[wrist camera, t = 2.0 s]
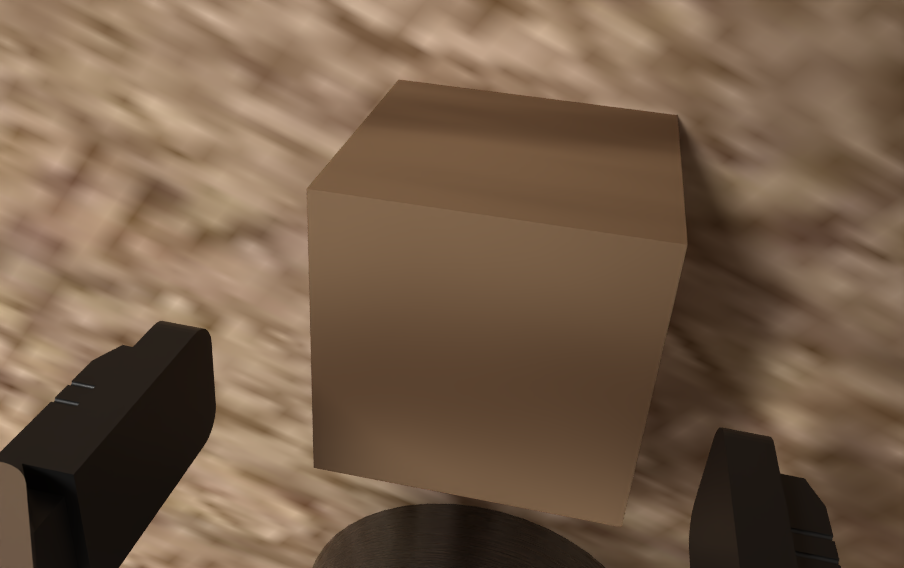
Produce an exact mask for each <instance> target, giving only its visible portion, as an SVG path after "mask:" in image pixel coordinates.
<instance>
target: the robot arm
mask: <svg viewBox="0 0 904 568" xmlns="http://www.w3.org/2000/svg"><path fill="white" fill-rule="evenodd" d="M215 412H216V401H215V386H214V371H213V356H212V342H211V337H210V334H209V332H208V331H207V330H206V329H203V328H197V327H192V326H187V325H181V324H176V323H171V322H165V321H159V322H157V323H156V324H155V325H154V326H153V327H152V328H151V329H150V330H149V331H148V332H147V333H146V334H145V335H144V336H143V337H142V338H141V339H140V340H139V341H138V342H137V343H136V344H135V345H134V346H133V347H130V346H125V345H122V346H120V347H118V348H116V349H114V350H112V351H110V352H108V353H106V354H104V355H102V356H100V357H98V358H96V359H95V360H93V361H91V362H90V363H89V364H88V365H87V366H86V367H85V368H84V369H83V370H82V371H81V372H80V373H79V374H78V375H77V376H76V377H75V378H74V379H73V380H72V384H71V386H70V385H67V386H66V387H65V388H64V389H63V390H62V391H61V392H60V393H59V394H58V395H57V396H56V397H55V401H54V402H50V403H49V404H48V405H47V406H46V407H45V408H44V409H43V410H42V411H41V412H40V413H39V414H38V415H37V416H36V417H35V418H34V419H33V420H32V421H31V422H30V423H29V424H28V425H27V426H26V427H25V428H24V429H23V430H22V431H21V432H20V433H19V434H18V435H17V436H16V437H15V438H14V439H13V440H12V441H11V442H10V443H9V444H8V445H7V446H6V447H5V448H4V449H3V450H2V451H1V452H0V568H119V567H120V565H121V564H122V562H123V561H124V560H125V558H126V557H127V555H128V554H129V552H130V551H131V550H132V548H133V547H134V545H135V544H136V542H137V541H138V540H139V538H140V537H141V535H142V534H143V532H144V531H145V529H146V528H147V527H148V525H149V524H150V522H151V521H152V519H153V518H154V517H155V515H156V514H157V512H158V511H159V509H160V508H161V507H162V505H163V504H164V502H165V501H166V499H167V498H168V497H169V495H170V494H171V492H172V491H173V489H174V488H175V487H176V485H177V484H178V482H179V481H180V479H181V478H182V476H183V475H184V474H185V472H186V471H187V469H188V468H189V466H190V465H191V464H192V462H193V461H194V459H195V458H196V456H197V455H198V454H199V452H200V451H201V449H202V448H203V446H204V445H205V443H206V442H207V440H208V438H209V435H210V433H211V430H212V427H213V423H214V419H215ZM832 538H833V533H832V529H831V525H830V521H829V517H828V513H827V510H826V506H825V505H824V504H823V502H822V501H821V500H820V498H819V497H818V496H817V494H816V493H815V492H814V490H813V489H812V488H811V486H810V485H809V484H808V482H807V481H806V480H805V479H804V478H799V477H794V476H789V475H784V474H780V471H779V466H778V461H777V456H776V451H775V445H774V441H773V439H772V438H771V437H769V436H764V435H758V434H753V433H748V432H742V431H737V430H732V429H726V428H721V427H720V428H719V429H718V430H717V432H716V434H715V437H714V440H713V443H712V446H711V450H710V453H709V456H708V460H707V463H706V466H705V469H704V473H703V476H702V479H701V483H700V486H699V489H698V492H697V496H696V499H695V502H694V506H693V511H692V516H691V523H690V532H689V555H690V568H841V566H840V565H838V562H839V557H838V553H837V549H836V545H835V541H832Z"/></svg>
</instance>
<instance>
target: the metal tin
mask: <svg viewBox="0 0 904 568" xmlns="http://www.w3.org/2000/svg"><path fill="white" fill-rule="evenodd" d="M313 568H605V567H604V566H603V565H602V564H600V563H599V562H598V561H597V560H596V559H594V558H593V557H592V556H591V555H590V554H589V553H587V552H586V551H584V550H583V549H581V548H580V547H578V546H577V545H575V544H574V543H572V542H571V541H569V540H568V539H566V538H564V537H562V536H560V535H558V534H556V533H554V532H553V531H551V530H549V529H547V528H544V527H542V526H540V525H537V524H535V523H532V522H530V521H528V520H525V519H522V518H519V517H516V516H513V515H509V514H506V513H503V512H499V511H494V510H490V509H485V508H480V507H475V506H466V505H457V504H419V505H409V506H402V507H397V508H393V509H388V510H384V511H381V512H378V513H375V514H372V515H369V516H366V517H364V518H362V519H360V520H358V521H356V522H354V523H353V524H351V525H349V526H347V527H346V528H345V529H343V530H342V531H341V532H339V533H338V534H336V535H335V536H334V537H333V538H332V539H331V540H330V541H329V542H328V543H327V545H326V546H325V547H324V548H323V550H322V551H321V553H320V554H319V556H318V557H317V559H316V561H315V563H314V565H313Z"/></svg>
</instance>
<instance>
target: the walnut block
mask: <svg viewBox="0 0 904 568" xmlns="http://www.w3.org/2000/svg"><path fill="white" fill-rule="evenodd" d="M307 217H308V256H309V296H310V335H311V375H312V414H313V453H314V468H318V469H323V470H328V471H333V472H339V473H344V474H349V475H354V476H359V477H365V478H370V479H375V480H380V481H385V482H390V483H396V484H401V485H406V486H411V487H416V488H421V489H427V490H432V491H437V492H442V493H447V494H453V495H458V496H463V497H468V498H473V499H478V500H484V501H489V502H494V503H499V504H504V505H509V506H515V507H520V508H525V509H530V510H535V511H541V512H546V513H551V514H556V515H561V516H566V517H572V518H577V519H582V520H587V521H592V522H598V523H603V524H608V525H613V526H618V527H622V523H623V519H624V514H625V510H626V506H627V501H628V497H629V493H630V489H631V484H632V480H633V476H634V472H635V467H636V463H637V459H638V454H639V450H640V446H641V442H642V437H643V433H644V429H645V425H646V420H647V416H648V412H649V408H650V403H651V399H652V395H653V390H654V386H655V382H656V378H657V373H658V369H659V365H660V361H661V356H662V352H663V348H664V344H665V339H666V335H667V331H668V326H669V322H670V318H671V314H672V309H673V305H674V301H675V297H676V292H677V288H678V284H679V279H680V275H681V271H682V267H683V262H684V258H685V254H686V250H687V245H688V243H687V230H686V218H685V205H684V192H683V179H682V166H681V153H680V140H679V127H678V115H671V114H663V113H655V112H647V111H640V110H632V109H624V108H616V107H608V106H600V105H593V104H585V103H577V102H569V101H561V100H554V99H546V98H538V97H530V96H522V95H515V94H507V93H499V92H491V91H483V90H475V89H468V88H460V87H452V86H444V85H436V84H429V83H421V82H413V81H405V80H398V81H397V83H396V84H395V85H394V86H393V87H392V88H391V90H390V91H389V92H388V93H387V94H386V96H385V97H384V98H383V99H382V100H381V101H380V103H379V104H378V105H377V106H376V107H375V109H374V110H373V111H372V112H371V113H370V115H369V116H368V117H367V118H366V119H365V120H364V122H363V123H362V124H361V125H360V126H359V128H358V129H357V130H356V131H355V132H354V133H353V135H352V136H351V137H350V138H349V139H348V141H347V142H346V143H345V144H344V145H343V147H342V148H341V149H340V150H339V151H338V152H337V154H336V155H335V156H334V157H333V158H332V160H331V161H330V162H329V163H328V164H327V165H326V167H325V168H324V169H323V170H322V171H321V173H320V174H319V175H318V176H317V177H316V178H315V180H314V181H313V182H312V183H311V184H310V186H309V187H308V188H307Z"/></svg>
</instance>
